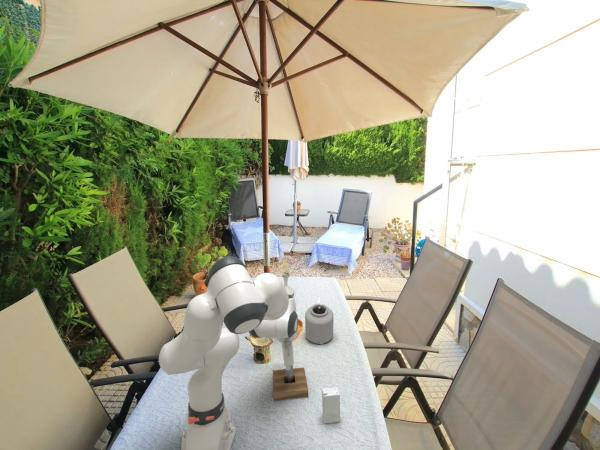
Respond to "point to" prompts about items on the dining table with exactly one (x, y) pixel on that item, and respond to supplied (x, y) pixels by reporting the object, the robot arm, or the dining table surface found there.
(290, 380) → the peg
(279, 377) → the socket block
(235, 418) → the dining table surface
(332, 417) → the skincare box
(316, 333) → the jar
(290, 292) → the flower in vase
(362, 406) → the dining table surface
